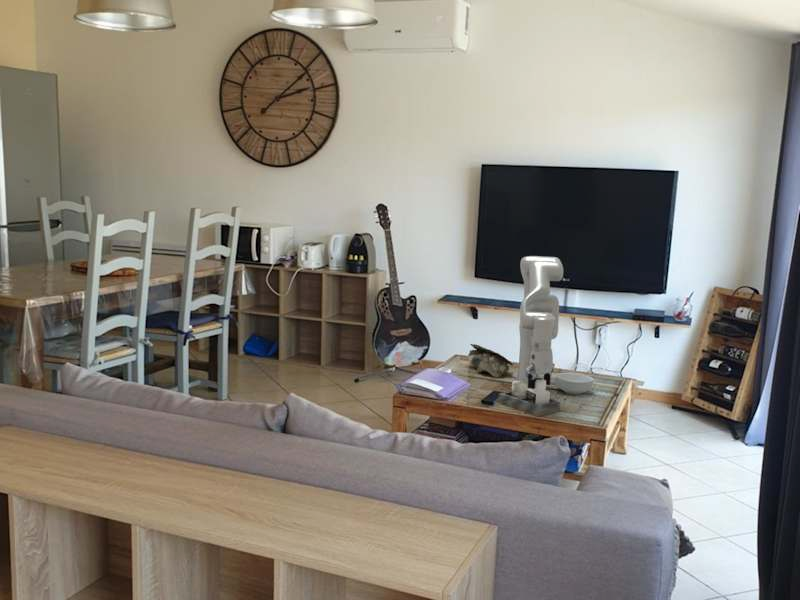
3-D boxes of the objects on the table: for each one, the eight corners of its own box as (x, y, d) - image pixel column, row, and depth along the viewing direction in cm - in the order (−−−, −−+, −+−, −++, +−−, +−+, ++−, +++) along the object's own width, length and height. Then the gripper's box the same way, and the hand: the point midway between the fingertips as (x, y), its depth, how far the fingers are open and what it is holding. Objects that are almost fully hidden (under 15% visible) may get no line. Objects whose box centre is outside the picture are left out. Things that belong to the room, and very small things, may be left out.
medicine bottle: (525, 405, 335) (526, 377, 333) (539, 403, 338) (541, 376, 336) (534, 410, 328) (536, 381, 326) (549, 408, 331) (551, 380, 329)
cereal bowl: (592, 398, 352) (593, 383, 351) (554, 395, 355) (555, 379, 354) (591, 388, 368) (592, 373, 367) (554, 385, 372) (555, 370, 371)
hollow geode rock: (470, 374, 406) (453, 354, 399) (486, 355, 408) (469, 336, 402) (501, 386, 381) (483, 366, 375) (518, 367, 384) (500, 346, 378)
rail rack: (498, 402, 341) (499, 382, 339) (519, 397, 349) (520, 377, 348) (539, 416, 324) (540, 394, 322) (560, 410, 332) (561, 389, 331)
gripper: (534, 350, 320) (531, 391, 323) (562, 345, 331) (559, 385, 334) (520, 346, 326) (518, 387, 329) (548, 341, 337) (545, 380, 340)
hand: (538, 386), depth 332 cm, fingers open, 9 cm apart
